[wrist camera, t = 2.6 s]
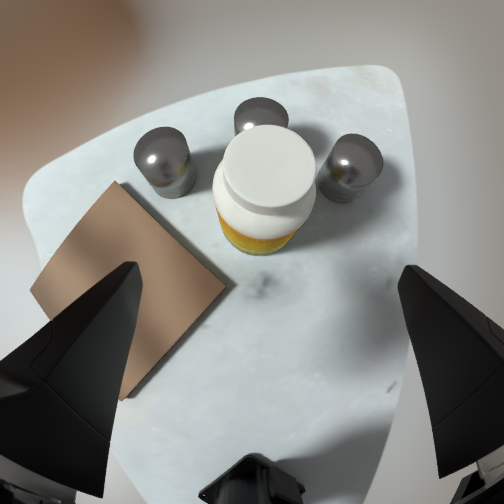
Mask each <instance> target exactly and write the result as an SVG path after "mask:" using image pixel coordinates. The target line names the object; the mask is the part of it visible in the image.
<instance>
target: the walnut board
mask: <svg viewBox="0 0 504 504" xmlns="http://www.w3.org/2000/svg"><path fill="white" fill-rule="evenodd" d="M125 261H136V262H137V263H138V265H139V269H140V273H141V276H142V280H143V289H142V295H141V300H140V306H139V312H138V318H137V324H136V329H135V333H134V336H133V340H132V344H131V348H130V352H129V356H128V360H127V364H126V368H125V372H124V376H123V380H122V385H121V389H120V394H119V398H118V399H119V400H120V401H123V400H124V399H125V398H126V397H127V396H128V395H129V394H130V392H131V391H132V390H133V389H134V388H135V387H136V386H137V385H138V384H139V383H140V381H141V380H142V379H143V378H144V377H145V376H146V375H147V374H148V373H149V372H150V370H151V369H152V368H153V367H154V366H155V365H156V364H157V363H158V362H159V361H160V359H161V358H162V357H163V356H164V355H165V354H166V353H167V352H168V351H169V350H170V348H171V347H172V346H173V345H174V344H175V343H176V342H177V341H178V340H179V339H180V337H181V336H182V335H183V334H184V333H185V332H186V331H187V330H188V329H189V327H190V326H191V325H192V324H193V323H194V322H195V321H196V320H197V319H198V318H199V316H200V315H201V314H202V313H203V312H204V311H205V310H206V309H207V308H208V306H209V305H210V304H211V303H212V302H213V301H214V300H215V299H216V298H217V297H218V295H219V294H220V293H221V292H222V291H223V290H224V289H225V288H226V286H225V285H224V284H223V283H222V282H221V281H220V280H218V279H217V278H216V277H215V276H214V275H213V274H212V273H211V272H210V271H209V270H207V269H206V268H205V267H204V266H203V265H202V264H201V263H200V262H199V261H198V260H197V259H196V258H194V257H193V256H192V255H191V254H190V253H189V252H188V251H187V250H186V249H185V248H184V247H183V246H182V245H181V244H180V243H178V242H177V241H176V240H175V239H174V238H173V237H172V236H171V235H170V234H169V233H168V232H167V231H166V230H165V229H164V228H163V227H162V226H161V225H160V224H159V223H158V222H157V221H156V220H154V219H153V218H152V217H151V216H150V215H149V214H148V213H147V212H146V211H145V210H144V209H143V208H142V207H141V206H140V205H139V204H138V203H137V202H136V201H135V200H134V199H133V198H132V197H131V196H130V195H129V194H128V193H127V192H126V191H125V190H124V189H123V188H122V187H121V186H120V185H119V184H118V183H117V182H116V181H114V182H113V183H112V184H111V185H110V186H109V188H108V189H107V190H106V191H105V192H104V193H103V194H102V195H101V196H100V198H99V199H98V200H97V201H96V202H95V203H94V204H93V206H92V207H91V208H90V209H89V210H88V211H87V213H86V214H85V215H84V216H83V217H82V219H81V220H80V221H79V222H78V224H77V225H76V226H75V227H74V229H73V230H72V231H71V232H70V234H69V235H68V236H67V237H66V239H65V240H64V241H63V243H62V244H61V245H60V247H59V248H58V249H57V251H56V252H55V253H54V255H53V256H52V258H51V259H50V260H49V262H48V263H47V265H46V266H45V268H44V269H43V271H42V272H41V273H40V275H39V276H38V278H37V280H36V281H35V283H34V284H33V286H32V287H31V289H30V291H31V293H32V294H33V296H34V298H35V299H36V300H37V302H38V303H39V305H40V306H41V308H42V309H43V311H44V312H45V314H46V315H47V316H48V318H49V319H50V321H51V320H52V319H53V318H54V317H55V316H57V315H58V314H59V313H60V312H61V311H62V310H64V309H65V308H66V307H67V306H69V305H70V304H71V303H72V302H73V301H75V300H76V299H77V298H78V297H80V296H81V295H82V294H83V293H85V292H86V291H87V290H88V289H90V288H91V287H92V286H93V285H95V284H96V283H97V282H98V281H100V280H101V279H102V278H104V277H105V276H106V275H107V274H109V273H110V272H111V271H113V270H114V269H115V268H117V267H118V266H119V265H121V264H122V263H123V262H125Z"/></svg>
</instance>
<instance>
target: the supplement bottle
mask: <svg viewBox="0 0 504 504" xmlns="http://www.w3.org/2000/svg"><path fill="white" fill-rule="evenodd" d="M315 177H316V160H315V157H314V154H313V152H312V150H311V148H310V146H309V145H308V144H307V143H306V141H305V140H304V139H303V138H302V137H301V136H299V135H298V134H297V133H295V132H293V131H291V130H289V129H287V128H284V127H280V126H276V125H259V126H254V127H251V128H248V129H246V130H244V131H242V132H241V133H239V134H238V135H237V136H236V137H234V138H233V139H232V141H231V142H230V143H229V145H228V147H227V149H226V151H225V154H224V157H223V160H222V161H221V162H220V164H219V166H218V168H217V170H216V172H215V175H214V179H213V198H214V202H215V206H216V209H217V213H218V217H219V221H220V224H221V228H222V231H223V233H224V235H225V237H226V239H227V240H228V241H229V243H230V244H231V245H232V246H233V247H235V248H236V249H237V250H239V251H240V252H242V253H245V254H248V255H252V256H265V255H269V254H272V253H274V252H276V251H278V250H279V249H281V248H282V247H283V246H284V245H285V244H286V243H287V242H288V241H289V240H290V239H291V237H292V236H293V235H294V234H295V233H296V231H297V230H298V229H299V228H300V227H301V226H302V225H303V224H304V222H305V221H306V220H307V218H308V217H309V215H310V213H311V211H312V209H313V206H314V203H315V198H316V184H315Z"/></svg>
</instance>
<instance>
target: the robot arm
mask: <svg viewBox="0 0 504 504" xmlns="http://www.w3.org/2000/svg"><path fill="white" fill-rule="evenodd" d="M142 289H143V280H142V276H141V273H140V269H139V265H138V263H137V262H136V261H125V262H123V263H122V264H121V265H119V266H118V267H117V268H115V269H114V270H113V271H111V272H110V273H109V274H107V275H106V276H105V277H104V278H102V279H101V280H100V281H98V282H97V283H96V284H95V285H93V286H92V287H91V288H90V289H88V290H87V291H86V292H85V293H83V294H82V295H81V296H80V297H78V298H77V299H76V300H75V301H73V302H72V303H71V304H70V305H69V306H67V307H66V308H65V309H64V310H62V311H61V312H60V313H59V314H58V315H57V316H55V317H54V318H53V319H52V320H51V321H49V322H48V323H47V324H46V325H45V326H44V327H42V328H41V329H40V330H39V331H38V332H37V333H35V334H34V335H33V336H32V337H31V338H29V339H28V340H27V341H25V342H24V343H23V344H21V345H20V346H19V347H18V348H16V349H15V350H14V351H12V352H11V353H10V354H8V355H7V356H6V357H5V358H3V359H2V360H1V361H0V504H76V503H75V499H76V492H77V491H80V492H83V493H86V494H89V495H92V496H95V497H98V498H103V493H104V484H105V476H106V468H107V460H108V454H109V448H110V441H111V435H112V429H113V424H114V418H115V413H116V408H117V403H118V398H119V394H120V389H121V385H122V380H123V376H124V372H125V368H126V364H127V360H128V356H129V352H130V348H131V344H132V340H133V336H134V333H135V329H136V324H137V318H138V312H139V306H140V300H141V295H142ZM398 292H399V296H400V300H401V305H402V309H403V313H404V318H405V322H406V326H407V330H408V333H409V336H410V340H411V343H412V346H413V350H414V353H415V357H416V360H417V364H418V367H419V371H420V376H421V380H422V384H423V388H424V392H425V396H426V401H427V406H428V410H429V415H430V420H431V426H432V432H433V438H434V444H435V451H436V458H437V466H438V475H439V479H441V478H443V477H446V476H448V475H450V474H452V473H454V472H456V471H458V470H460V469H463V468H465V467H466V466H468V465H470V464H472V463H474V462H476V463H477V467H478V470H477V471H475V472H473V473H471V474H470V475H468V476H466V477H464V478H463V479H462V480H461V482H460V485H459V487H458V489H457V491H456V493H455V495H454V497H453V499H452V501H451V503H450V504H504V329H502V328H501V327H500V326H498V325H497V324H496V323H495V322H493V321H492V320H491V319H490V318H488V317H486V316H485V314H483V313H482V312H481V311H479V310H478V309H477V308H475V307H474V306H473V305H472V304H470V303H469V302H467V301H466V300H465V299H464V298H462V297H461V296H460V295H458V294H457V293H455V292H454V291H453V290H451V289H450V288H449V287H447V286H446V285H445V284H443V283H442V282H440V281H439V280H437V279H436V278H435V277H433V276H432V275H430V274H429V273H427V272H426V271H424V270H423V269H422V268H420V267H419V266H417V265H407V266H405V268H404V270H403V272H402V275H401V277H400V280H399V282H398ZM247 460H251V462H246V461H247ZM299 489H301V490H299ZM304 492H305V487H304V486H303V485H302V484H300V483H298V482H296V480H295V478H293V477H292V476H290V475H288V474H286V473H285V472H283V471H281V470H279V469H278V468H276V467H274V466H268V465H266V464H265V463H263V462H262V461H260V460H258V459H257V458H255V457H254V456H252V455H246V456H244V457H243V458H242V459H240V460H239V461H238V462H237V463H236V464H234V465H233V466H232V467H231V468H230V469H228V470H227V471H226V472H225V473H223V474H222V475H221V476H220V477H218V478H217V479H216V480H214V481H213V482H212V483H210V484H209V485H208V486H206V487H205V488H204V489H202V490H201V491H200V492H199V495H198V497H199V498H200V499H201V500H203V501H204V502H206V503H208V504H303V501H302V498H301V495H302V494H303V493H304ZM203 495H206V496H203Z"/></svg>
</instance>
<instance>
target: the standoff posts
mask: <svg viewBox="0 0 504 504" xmlns="http://www.w3.org/2000/svg"><path fill="white" fill-rule="evenodd" d="M288 122H289V118H288V114H287V111H286V110H285V108H284V107H283V106H282V105H281V104H279V103H278V102H276V101H274V100H272V99H269V98H263V97H257V98H251V99H248V100H246V101H244V102H243V103H241V104H240V105H239V106H238V107H237V109H236V111H235V114H234V127H235V137H236V136H237V135H238V134H239V133H241V132H242V131H244V130H246V129H248V128H251V127H254V126H259V125H276V126H280V127H284V128H287V126H288ZM134 162H135V164H136V166H137V167H138V169H139V170H140V171H141V173H142V174H143V175H144V177H145V178H146V179H147V181H148V182H149V184H150V185H151V186H152V188H153V189H154V190H155V192H156V193H157V194H158V195H160V196H161V197H164V198H167V199H175V198H179V197H182V196H184V195H185V194H187V193H188V192H189V191H190V190H191V189H192V187H193V186H194V184H195V181H196V169H195V166H194V163H193V160H192V157H191V154H190V151H189V148H188V145H187V142H186V139H185V137H184V135H183V134H182V133H181V132H180V131H179V130H177V129H175V128H171V127H159V128H155V129H153V130H151V131H149V132H147V133H146V134H145V135H143V136H142V137H141V138H140V140H139V141H138V143H137V144H136V146H135V149H134ZM382 169H383V158H382V155H381V152H380V150H379V149H378V147H377V146H376V145H375V144H374V143H373V142H372V141H371V140H369V139H368V138H366V137H364V136H362V135H359V134H346V135H344V136H342V137H340V138H339V139H338V140H337V142H336V144H335V145H334V147H333V149H332V150H331V152H330V154H329V155H328V157H327V159H326V161H325V162H324V164H323V166H322V167H321V169H320V171H319V173H318V184H319V187H320V189H321V191H322V192H323V194H324V195H325V196H326V197H327V198H329V199H330V200H332V201H335V202H338V203H346V202H350V201H352V200H353V199H354V198H355V197H356V196H358V195H359V194H360V193H361V192H362V191H363V190H364V189H365V188H366V187H367V186H368V185H369V184H370V183H371V182H373V181H374V180H375V179H376V178H377V177H378V176H379V175H380V173H381V172H382Z"/></svg>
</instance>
